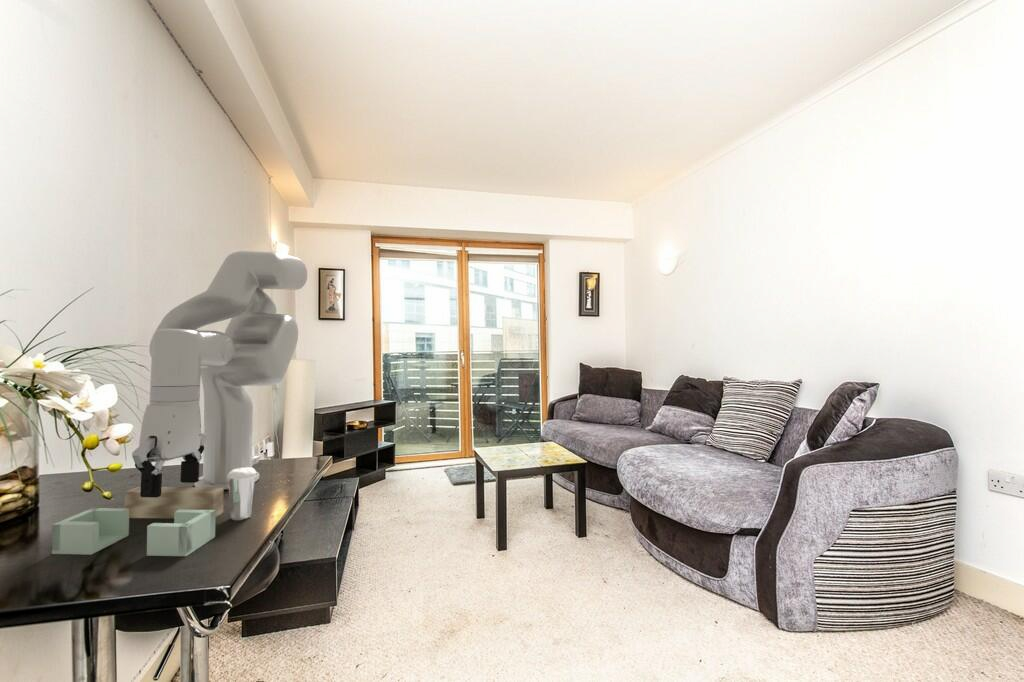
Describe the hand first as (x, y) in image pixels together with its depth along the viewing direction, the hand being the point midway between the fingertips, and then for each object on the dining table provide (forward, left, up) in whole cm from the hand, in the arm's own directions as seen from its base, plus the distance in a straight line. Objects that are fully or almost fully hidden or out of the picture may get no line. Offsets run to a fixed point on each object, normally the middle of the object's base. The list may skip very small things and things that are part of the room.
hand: (171, 489), depth 86 cm
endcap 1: (+11, -4, -5) cm, 13 cm away
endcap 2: (+11, +10, -5) cm, 16 cm away
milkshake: (-1, +12, -5) cm, 14 cm away
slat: (-1, 0, -6) cm, 6 cm away
